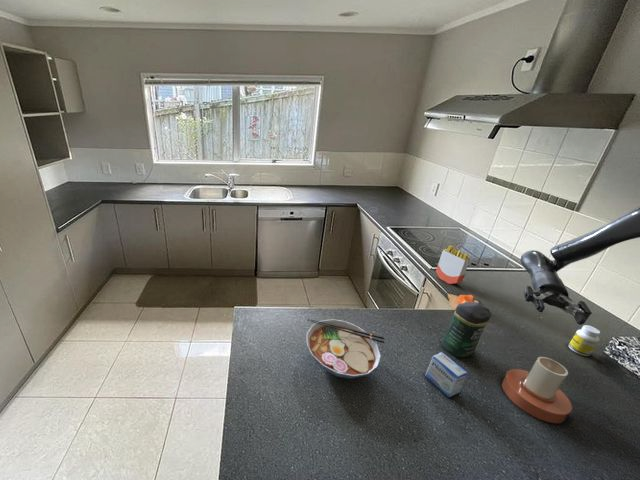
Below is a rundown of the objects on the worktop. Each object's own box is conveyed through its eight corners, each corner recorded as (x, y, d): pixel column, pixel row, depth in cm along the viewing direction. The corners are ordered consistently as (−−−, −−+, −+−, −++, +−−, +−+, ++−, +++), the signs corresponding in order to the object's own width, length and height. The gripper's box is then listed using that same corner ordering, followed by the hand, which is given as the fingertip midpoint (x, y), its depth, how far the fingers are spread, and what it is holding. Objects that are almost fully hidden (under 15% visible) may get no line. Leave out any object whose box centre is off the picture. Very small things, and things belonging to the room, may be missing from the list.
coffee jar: (457, 361, 94) (476, 317, 86) (437, 343, 100) (453, 301, 93) (478, 354, 96) (498, 311, 89) (457, 338, 103) (474, 296, 96)
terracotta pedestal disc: (560, 395, 83) (566, 385, 82) (571, 434, 73) (579, 424, 71) (500, 369, 91) (505, 360, 89) (503, 401, 81) (508, 391, 79)
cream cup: (551, 387, 81) (565, 364, 78) (555, 403, 76) (570, 379, 73) (523, 375, 84) (535, 352, 81) (525, 390, 80) (538, 367, 76)
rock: (451, 308, 119) (454, 300, 117) (447, 293, 129) (449, 285, 127) (485, 317, 114) (489, 309, 113) (478, 301, 124) (481, 293, 123)
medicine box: (424, 376, 88) (432, 355, 84) (434, 371, 89) (442, 351, 86) (449, 398, 81) (458, 377, 78) (458, 393, 83) (468, 372, 79)
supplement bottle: (566, 342, 104) (578, 321, 100) (587, 349, 101) (600, 328, 97) (569, 351, 99) (583, 330, 96) (591, 359, 97) (606, 337, 93)
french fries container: (440, 273, 145) (451, 242, 138) (461, 285, 136) (473, 252, 129) (434, 275, 143) (444, 244, 136) (454, 287, 134) (467, 254, 127)
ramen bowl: (292, 375, 86) (295, 356, 83) (308, 326, 106) (310, 309, 102) (379, 407, 78) (386, 387, 74) (378, 348, 97) (383, 329, 94)
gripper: (525, 270, 96) (535, 296, 84) (584, 285, 89) (603, 317, 77) (516, 287, 99) (523, 315, 87) (571, 303, 92) (588, 336, 80)
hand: (561, 316), depth 82 cm, fingers open, 8 cm apart
